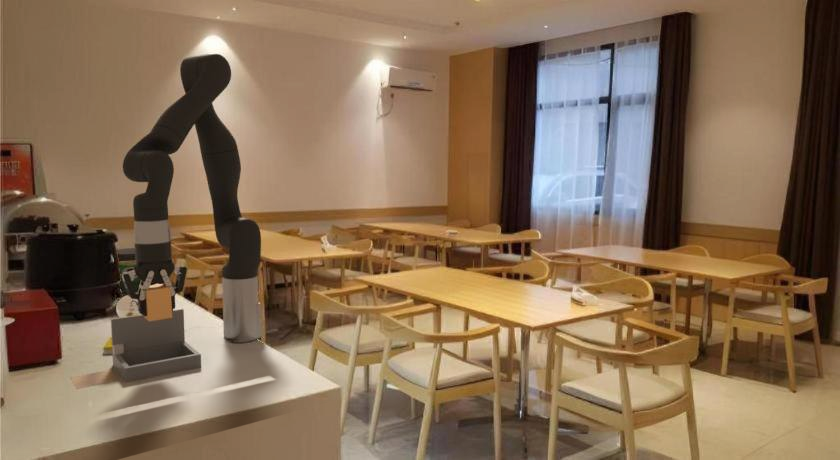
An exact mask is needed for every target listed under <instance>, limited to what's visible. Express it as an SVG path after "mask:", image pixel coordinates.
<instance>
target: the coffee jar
mask: <svg viewBox="0 0 840 460" xmlns="http://www.w3.org/2000/svg"><path fill="white" fill-rule="evenodd" d="M116 250H117V252H118V258H119V268H120V274H122V273H123V272H129V271H132V270H134V268H135V266H136V258H135V247H127V248H119V249H116ZM140 282H141V279H140V278H139V277H138V276H137V275H134V280H133V281H132V284H133V287H134V290H135V293H138V290H139V285H140ZM143 283H144V282H143ZM120 289H121V291H122V293H123V296H122V297H124V296H126V295H128V294H127V291H126V288H125V285H124V282H123V279H122V276H121V281H120ZM122 297H121V298H122ZM121 298H120V299H121ZM120 299H118V300H117V302H116V301H115V303H116V304H117V303H118V301H119V300H120Z"/></svg>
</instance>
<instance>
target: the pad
mask: <svg viewBox="0 0 840 460" xmlns="http://www.w3.org/2000/svg"><path fill="white" fill-rule="evenodd" d="M70 379H71V380H72V383H73V384H74V386H75V389H76V390H78V389H82V388H88V387H92V386H93V387H94V386H97V385H103V384H107V383H112V382H119V379H118V377H117V376H116V375H115V373H114V372H113V370H112V369H107V370H101V371H95V372H92V373H86V374H81V375H75V376H70Z"/></svg>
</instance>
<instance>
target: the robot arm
mask: <svg viewBox="0 0 840 460" xmlns="http://www.w3.org/2000/svg"><path fill="white" fill-rule="evenodd" d="M179 69H180V70H179V71H180V73H179V74H180V80H181V83H182V87H183V90H184V95H182V96H180V98H179V99H177V100H176V101H175V102H173V103H172V104H171V105H169V107H168V108H166V109H165V110H164V112H163V113H162V114H161V115H160V116H159V118H158V120H156V123H155V124H154V125H153V127H152V129H151V130H150V132H149V133H147V134H146V135H145V136H143V137H142V138H140V140H139V141H138V142H137V143H135V144H134V145H133V146H131V148H130V149H129V150H128V152H126V154H125V156H124V159H123V162H122V171H123V174H124V176H125V178H127V179H128V180H129V181H131V182H136V183H147V186H146V189H145V192H141V193H138V194H136V195H135V196H134V198H133V203H132V204H133V206H132V207H133V216H134V217H133V220H134V222H133V224H134V225H133V242H134V243H133V244H134V248H135V258H136V266H135V268H134V270H132V271H129V272H123V273H122V274H121V276H122V279H123V282H124V285H125V288H126V291H127V294H128V296H129V297H131V298H132V299H137V300H138V311H139V313H140V314H142V315H143V316H147V306H146V300H145V297H146V290H149V287H150V286H151V285H158V284H163V285H164V286H166V287H170V288H171V303H172V312H173V310H176V295H177V294H179V293H181V292H183V291H184V289H185V288H184V287H185V282H186V276H187V272H188V271H187V270H188V268H187V267H186V266H185V265H182V264H181V265H175V264H174V263H173V254H172V253H173V252H172V232H171V226H170V219H169V207H168V206H169V205H168V200H169V196H170V194H171V188H172V183H173V178H174V171H175V167H174V162H173V160H172V158H171V157H170V155H172V154H175V153H176V152H178V151H179V149H180V148H181V146H182V145H183V143H184V142H185V140H186V138H187V137H188V134H189V133H190V132H191V130H192V128H193V127H194V126H195V131H196V135H197V139H198V143H199V150H200V154H201V160H202V164H203V169H204V172H205V177H206V181H207V185H208V186H207V187H208V191H209V194H210V195H209V196H210V200H211V203H212V204H211V205H212V206H211V207H212V212H213V224H214V232H215V237H216V240H217V243H218V244H219V245H220V246H221V247H222V248H224V249H226V250H229V251H228V262H227V264H224V265H223V266H222V268H221V277H222V278H221V280H222V281H221V282H222V286H221V287H222V289H221V290H222V318H223V322H222V323H223V325H222V326H223V339H224V340H226V341H227V342H229V343H238V344H239V343H248V342H252V341H255V340H257V339H260V338H262V337H263V335H262V329H263V328H262V304H261V302H259V290H258V289H259V282H258V281H259V280H258V279H259V278H258V272H259V271H258V270H259V268H260V265H261V259H262V256H261V253H262V234H261V230H260V226H259V225H258V223H257V222H256V221H255V220H253V219H251V218H249V217H247V218H246V217H243V216H242V212H241V209H240V204H239V201H238V190H239V184H240V178H241V174H242V173H241V171H242V166H241V165H242V164H241V158H240V153H239V148H238V145H237V141H236V139H235V136H233V134H232V133H231V131H230V130H229V129H228V127H227V126H226V125H225V124H224V123H223V121H222V120H221V118H220V117H219V116H218V113H217V112H216V110H215V108H214V104H213V103H214V102H215V100H217V98H219V96H220V95H221V94H222V93H223V92H224V91H225V90H226V88H227V87H228V86H229V84H230V82H231V80H232V79H231V78H232V70H231V65H230V63H229V61H228V60H227V58H225V56H223V54H221V53H214V52H213V53H212V52H211V53H203V54H198V55H190V56H187V57H185V58H184V59H183V60H182V61H181V63H180V68H179ZM173 272H174V273H175V275H176V279H175V283H174V287H173V284H172V282H171V279H170V277H171V275H172V274H173ZM134 275H137V276H138V277H139V278H140V279H141V282H140V285H139V290H138V293H135V290H134V287H133V284H132V281H133V280H134ZM143 282H144V283H143Z"/></svg>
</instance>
